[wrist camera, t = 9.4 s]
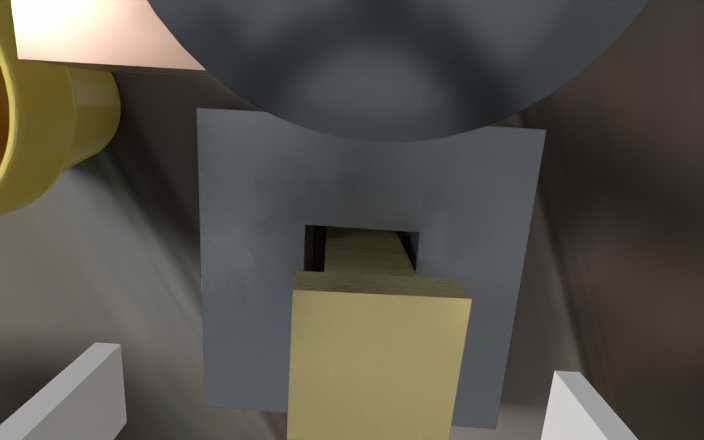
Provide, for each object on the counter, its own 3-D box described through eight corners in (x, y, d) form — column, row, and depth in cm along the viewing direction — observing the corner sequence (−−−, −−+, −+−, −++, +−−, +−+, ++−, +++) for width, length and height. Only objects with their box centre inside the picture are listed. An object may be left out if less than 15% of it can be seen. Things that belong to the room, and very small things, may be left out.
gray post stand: (220, 364, 27) (-137, 971, 8) (214, 9, 22) (-833, -692, 3) (477, 383, 27) (752, 1068, 8) (531, 27, 22) (1793, -632, 2)
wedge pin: (305, 304, 26) (286, 439, 16) (310, 208, 24) (292, 289, 14) (403, 308, 26) (447, 444, 16) (414, 214, 24) (471, 298, 14)
